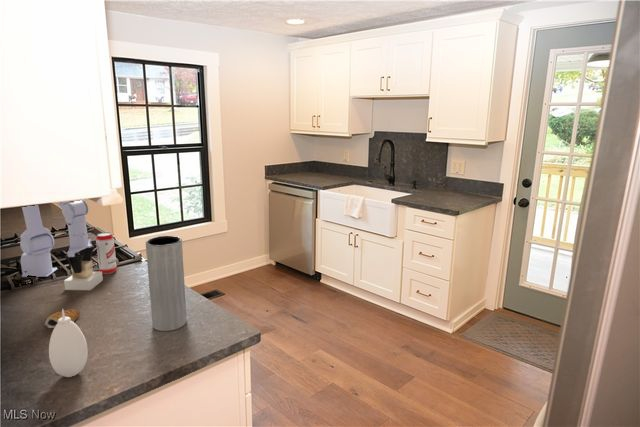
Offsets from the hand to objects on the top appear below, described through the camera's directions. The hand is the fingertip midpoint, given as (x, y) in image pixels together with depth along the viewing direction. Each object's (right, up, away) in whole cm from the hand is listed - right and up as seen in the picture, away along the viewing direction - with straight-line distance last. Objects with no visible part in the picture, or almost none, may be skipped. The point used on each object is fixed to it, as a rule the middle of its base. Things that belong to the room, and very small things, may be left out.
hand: (82, 268), depth 151 cm
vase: (+41, -14, -24) cm, 50 cm away
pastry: (+9, -14, -25) cm, 30 cm away
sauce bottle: (+26, -20, -49) cm, 59 cm away
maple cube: (0, -3, +1) cm, 3 cm away
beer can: (+2, -3, +14) cm, 15 cm away
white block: (0, -7, +2) cm, 7 cm away
